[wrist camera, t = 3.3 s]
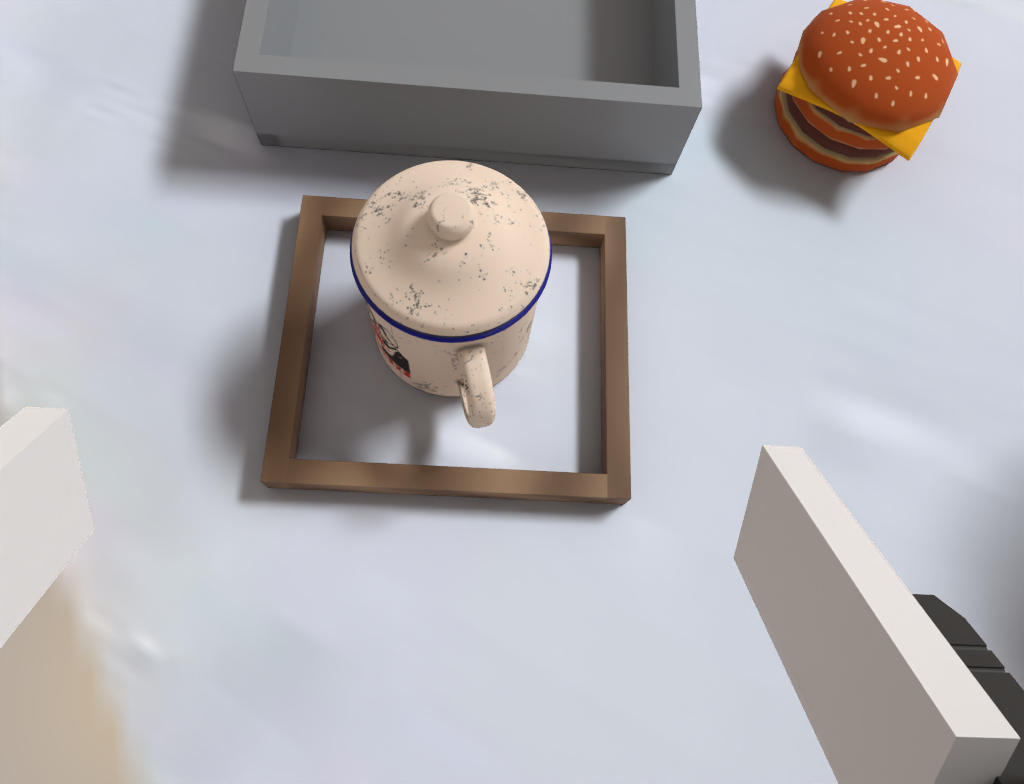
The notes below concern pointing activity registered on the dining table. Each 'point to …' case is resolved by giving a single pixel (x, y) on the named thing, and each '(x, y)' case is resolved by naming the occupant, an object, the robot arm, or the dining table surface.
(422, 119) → the bus tub
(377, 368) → the dining table surface
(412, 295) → the teacup with lid
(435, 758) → the dining table surface
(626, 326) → the brown wooden frame
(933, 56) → the hamburger
